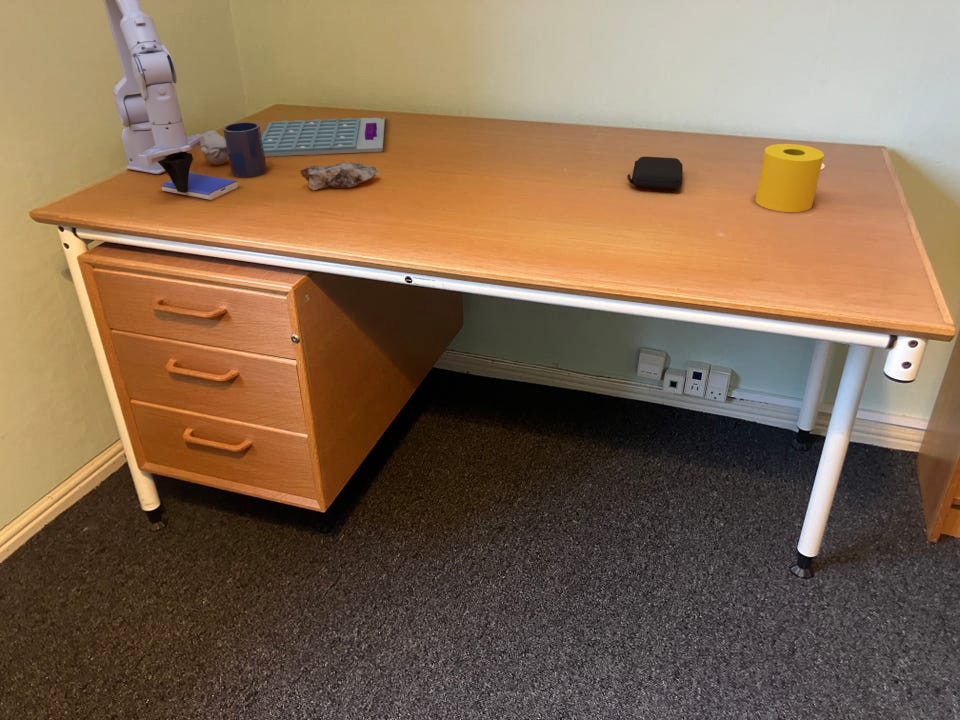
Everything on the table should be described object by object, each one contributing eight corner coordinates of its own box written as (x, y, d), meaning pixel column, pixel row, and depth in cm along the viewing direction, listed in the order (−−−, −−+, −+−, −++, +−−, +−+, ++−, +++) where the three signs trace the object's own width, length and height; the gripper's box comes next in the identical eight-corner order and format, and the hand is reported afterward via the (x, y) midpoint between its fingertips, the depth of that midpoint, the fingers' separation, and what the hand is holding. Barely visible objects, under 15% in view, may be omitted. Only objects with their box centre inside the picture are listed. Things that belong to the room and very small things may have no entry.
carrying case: (629, 167, 158) (625, 191, 146) (630, 153, 157) (626, 176, 145) (681, 170, 156) (681, 195, 144) (683, 156, 155) (683, 179, 143)
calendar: (272, 123, 191) (270, 114, 190) (385, 119, 193) (384, 109, 192) (254, 157, 168) (252, 146, 167) (382, 152, 170) (381, 141, 169)
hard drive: (160, 184, 149) (208, 193, 145) (190, 171, 155) (237, 179, 151) (162, 191, 150) (209, 201, 145) (192, 178, 156) (238, 187, 152)
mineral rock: (379, 176, 156) (377, 155, 153) (376, 189, 149) (374, 167, 147) (307, 178, 156) (304, 157, 153) (301, 192, 149) (298, 170, 147)
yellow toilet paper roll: (784, 215, 135) (795, 164, 130) (743, 198, 142) (752, 149, 137) (824, 205, 139) (836, 155, 134) (782, 189, 146) (792, 140, 141)
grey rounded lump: (219, 157, 168) (212, 126, 164) (239, 163, 165) (233, 131, 161) (196, 164, 164) (189, 132, 160) (217, 170, 161) (210, 137, 157)
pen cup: (224, 174, 158) (215, 129, 153) (247, 164, 164) (239, 120, 158) (251, 179, 155) (243, 133, 150) (274, 169, 161) (266, 124, 156)
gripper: (152, 133, 133) (170, 206, 140) (210, 113, 144) (224, 182, 151) (123, 129, 135) (142, 201, 143) (182, 110, 146) (197, 178, 153)
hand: (182, 191), depth 147 cm, fingers closed
